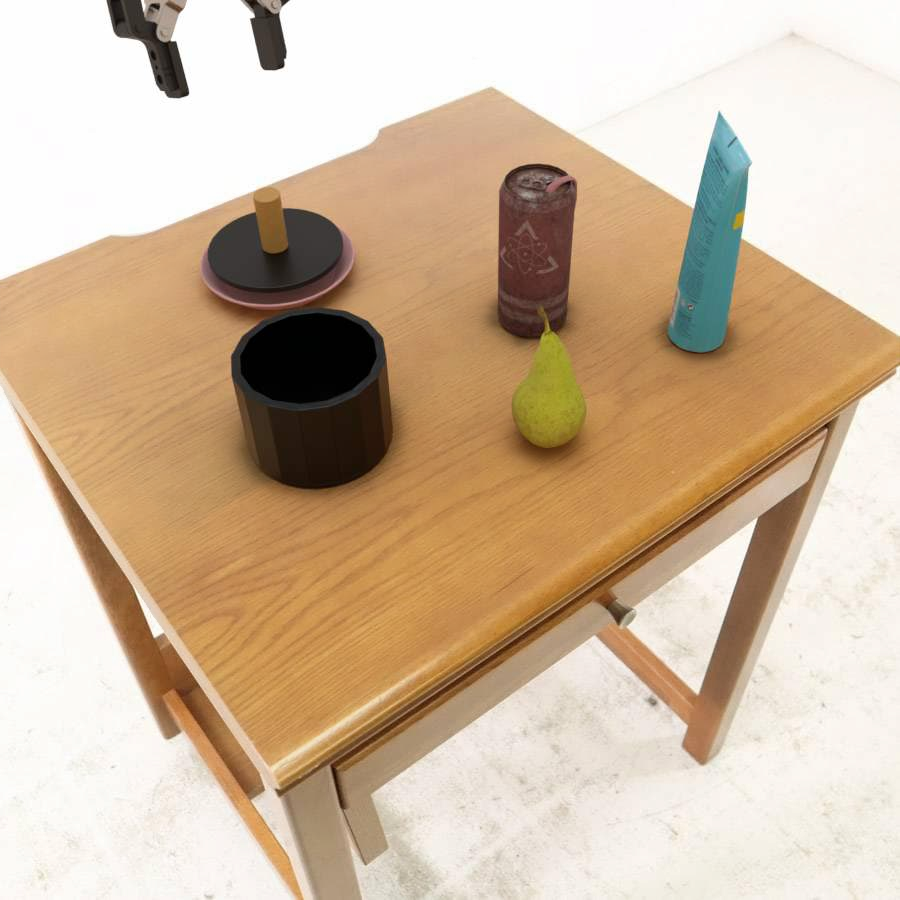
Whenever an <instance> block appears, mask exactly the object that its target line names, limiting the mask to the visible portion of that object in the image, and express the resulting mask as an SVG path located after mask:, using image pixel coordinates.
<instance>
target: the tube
mask: <svg viewBox="0 0 900 900" xmlns="http://www.w3.org/2000/svg"><path fill="white" fill-rule="evenodd" d="M752 164H753V160H752V159H751V157H750V155H749V154H748V151H746V149H745V147H744V145H743V143H741V141H740V139H739V137H738V135H737V134H736V132H735V131H734V130H733V127H732V126H731V124H730V123H729V122H728V120H727V119H726V118H725V116H724V115H723V113H722V112H721V110H718V113H717V116H716V119H715V123H714V126H713V130H712V133H711V137H710V141H709V144H708V148H707V151H706V156H705V161H704V164H703V168H702V172H701V176H700V181H699V185H698V190H697V194H696V199H695V203H694V207H693V210H692V211H693V212H692V216H691V221H690V225H689V230H688V234H687V239H686V243H685V247H684V251H683V257H682V262H681V266H680V270H679V275H678V280H677V284H676V288H675V294H674V298H673V302H672V307H671V313H670V318H669V321H668V327H667V334H668V338H669V339H670V341H671V342H672V343H673V344H674V345H675V346H677V347H678V348H680V349H682V350H684V351H687V352H694V353H708V352H712V351H714V350H717V349H718V348H719V347H721V345H723V343H724V341H725V337H726V333H727V327H728V321H729V316H730V309H731V308H730V307H731V303H732V297H733V292H734V285H735V279H736V273H737V268H738V267H737V266H738V261H739V255H740V248H741V243H742V242H741V241H742V235H743V230H744V229H743V228H744V223H745V222H744V221H745V215H746V214H745V213H746V208H747V207H746V205H747V197H748V188H749V187H748V186H749V170H750V167H751V166H752Z"/></svg>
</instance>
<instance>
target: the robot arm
mask: <svg viewBox="0 0 900 900" xmlns="http://www.w3.org/2000/svg"><path fill="white" fill-rule="evenodd" d="M105 1H106V5H107V10H108V15H109V17H110V22H111V26H112V31H113V33H114V35H115V36H116V37H117V38H120V39H127V40H128V39H129V40H134V41H139V42H141V43H142V44H143V46H144V47H145V49H146V52H147V56H148V59H149V63H150V67H151V71H152V74H153V78H154V82H155V85H156V86H157V88H158V89H159V91H160V92H164V95H165V96H166V97H167V98H170V99H179V100H180V99H183V98H186V97H188V96H189V95H190V89H189V85H188V81H187V80H188V79H187V76H186V73H185V68H184V65H183V62H182V57H181V54H180V49H179V46H178V42H177V41H176V40H171V39H172V38H173V34H174V31H175V28H176V26H177V21H178V18H179V15H180V14H181V12H182V11H184V9H185V7H186V5H187V2H188V1H187V0H143V3H142V0H105ZM290 1H291V0H240V2H241V3H242V4H243V5H244V6H245V7H246V8H247V9H248V10H249V11H250V12H251V13H252V14H253V15H254V17H250V18H249V21H250V26H251V30H252V35H253V38H254V43H255V47H256V52H257V56H258V61H259V65H260V67H261V69H262V70H264V71H273V72H274V71H278V70H282V69H284V68H285V66H286V62H285V60H286V59H287V54H288V49H287V46H286V40H285V36H284V31H283V26H282V22H281V17H280V16H281V15H280V14H281V11H282V8H283V7H284V6H285V5H286V4H287V3H289V2H290ZM143 4H144V5H145V8H143Z"/></svg>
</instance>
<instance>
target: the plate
mask: <svg viewBox="0 0 900 900" xmlns="http://www.w3.org/2000/svg"><path fill="white" fill-rule="evenodd" d="M335 225H336V226H337V228H338V229H339V231H340V233H341V235H342V238H343V253H342V256H341V259H340V260H339V262H338V264H337V265H336V266H335V267H334V268H333V270H331V271H330V272H329V273H328V274H327V275H325V276H324V277H323V278H321V279H319V280H317V281H316V282H314V283H311V284H309V285H307V286H304V287H301V288H298V289H294V290H290V291H284V292H276V293H257V292H249V291H244V290H240V289H237V288H234V287H232V286H229V285H227V284H226V283H224V282H222V281H221V280H220V279H218V278H217V277H216V275H215V274H214V273H213V272H212V270H211V268H210V265H209V262H208V256H207V253H208V247H209V244H208V245H207V247H206V248H205V250H203V253H202V255H201V259H200V263H199V271H200V275H201V279H202V281H203V282H204V284H205V285H206V287H207V288H208V289H209V290H210V291H211V292H212V293H214V294H215V295H217V296H218V297H219V298H221V299H223V300H226V301H228V302H230V303H234V304H236V305H240V306H243V307H246V308H251V309H254V310H258V311H259V310H260V311H283V310H292V309H297V308H299V307H303V306H305V305H308V304H310V303H313V302H314V301H316V300H319V299H320V298H321V297H323V296H324V295H326V294H327V293H329V292H330V291H332V290H333V289H334V288H336V287H337V286H338V285H339V284H340V283H342V282H343V281H344V280H345V279H346V278H347V276H348V275H349V274H350V272H351V271H352V268H353V266H354V263H355V260H356V259H355V258H356V249H355V245H354V243H353V240H352V239H351V237H350V236H349V234H347V232H346V231H345V230H344V229H342V228H341V227H340V226H338V225H337V224H335Z"/></svg>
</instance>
